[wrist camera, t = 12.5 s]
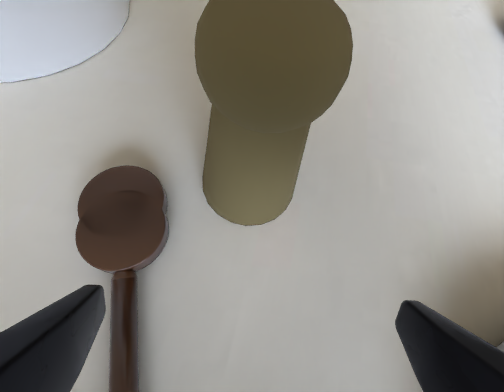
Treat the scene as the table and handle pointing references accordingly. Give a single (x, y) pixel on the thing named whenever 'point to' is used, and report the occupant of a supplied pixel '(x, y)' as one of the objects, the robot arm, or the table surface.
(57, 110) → the table surface
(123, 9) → the cylinder
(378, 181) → the table surface
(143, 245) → the wooden spoon
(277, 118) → the olive pawn
